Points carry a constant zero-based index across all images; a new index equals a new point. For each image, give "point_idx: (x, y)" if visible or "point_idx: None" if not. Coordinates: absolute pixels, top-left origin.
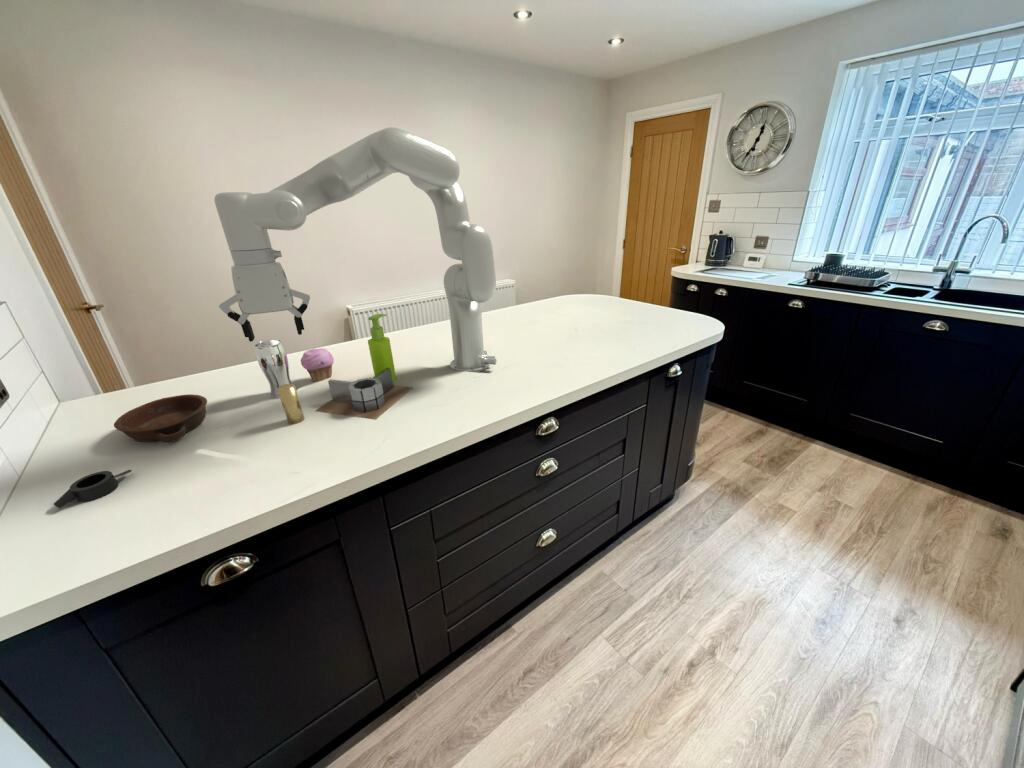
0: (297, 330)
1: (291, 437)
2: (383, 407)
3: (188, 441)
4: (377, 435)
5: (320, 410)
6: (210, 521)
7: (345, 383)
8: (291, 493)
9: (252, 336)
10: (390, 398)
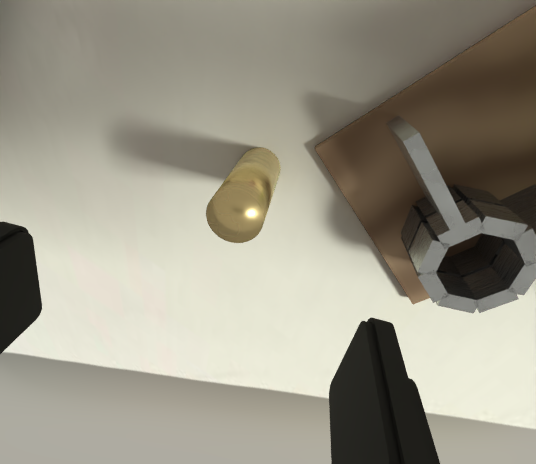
0: (333, 418)
1: None
2: None
3: (5, 59)
4: None
5: (329, 160)
6: (116, 353)
7: (438, 209)
8: (210, 371)
9: (19, 317)
10: None
